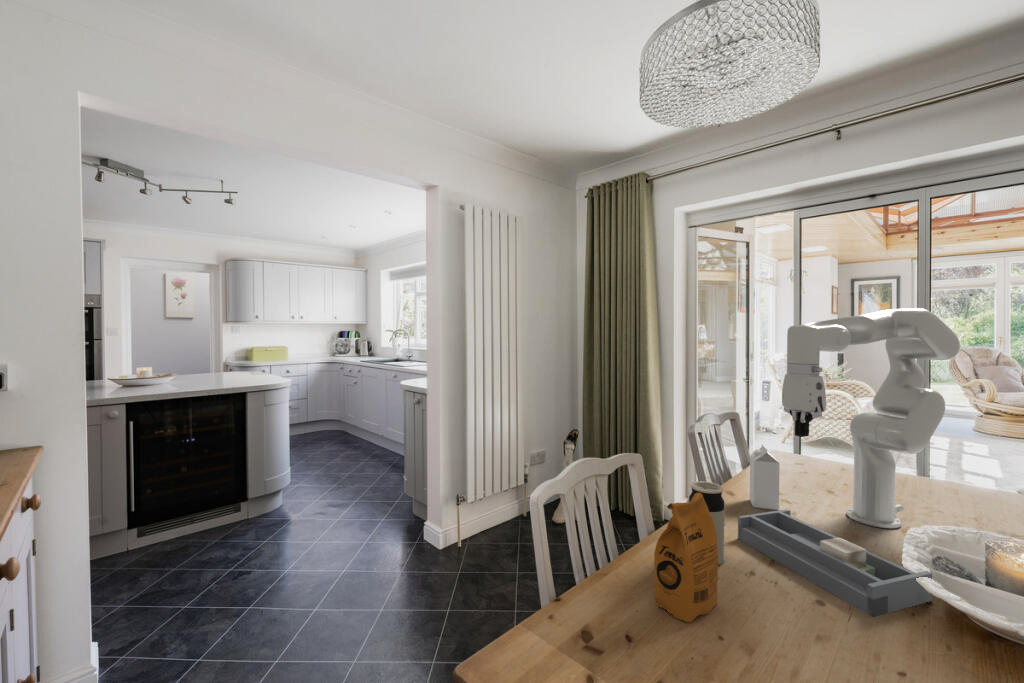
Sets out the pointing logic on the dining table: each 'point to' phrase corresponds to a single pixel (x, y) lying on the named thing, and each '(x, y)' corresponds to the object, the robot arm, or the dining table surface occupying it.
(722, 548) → the travel mug
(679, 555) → the coffee package
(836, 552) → the block
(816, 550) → the box
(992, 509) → the dining table surface
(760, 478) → the milk carton
